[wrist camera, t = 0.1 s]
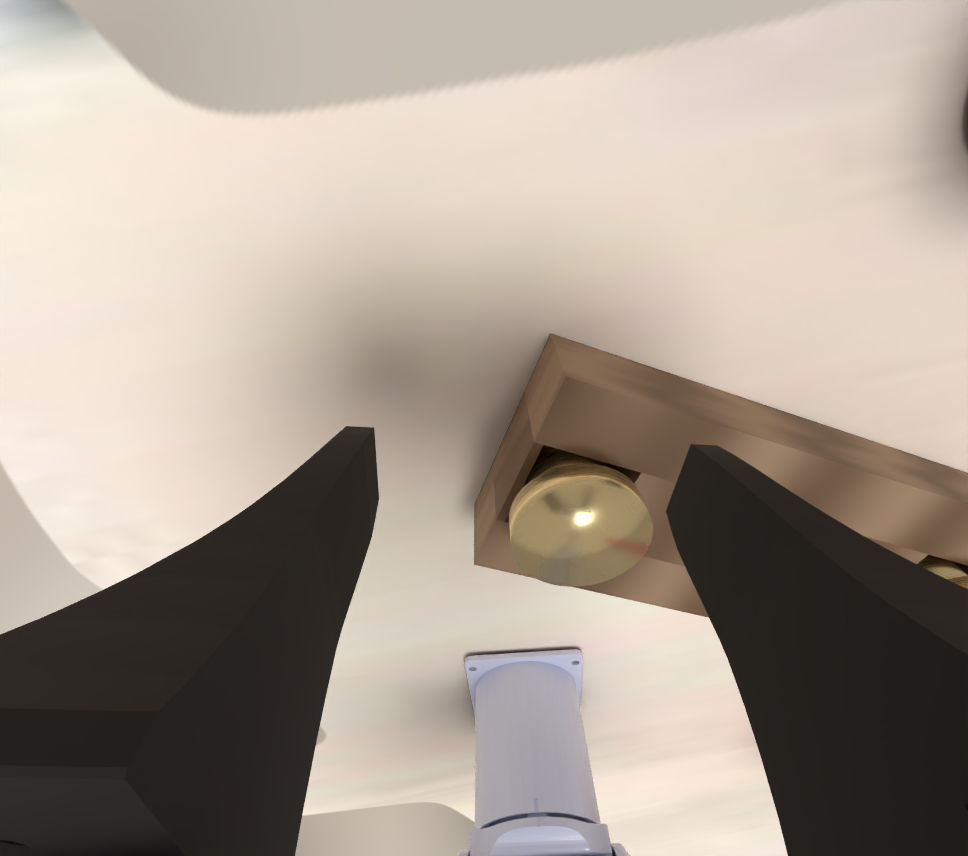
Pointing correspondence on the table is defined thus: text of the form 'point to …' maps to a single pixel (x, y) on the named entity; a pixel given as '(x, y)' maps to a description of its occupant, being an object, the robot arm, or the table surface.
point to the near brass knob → (577, 521)
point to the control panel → (707, 421)
